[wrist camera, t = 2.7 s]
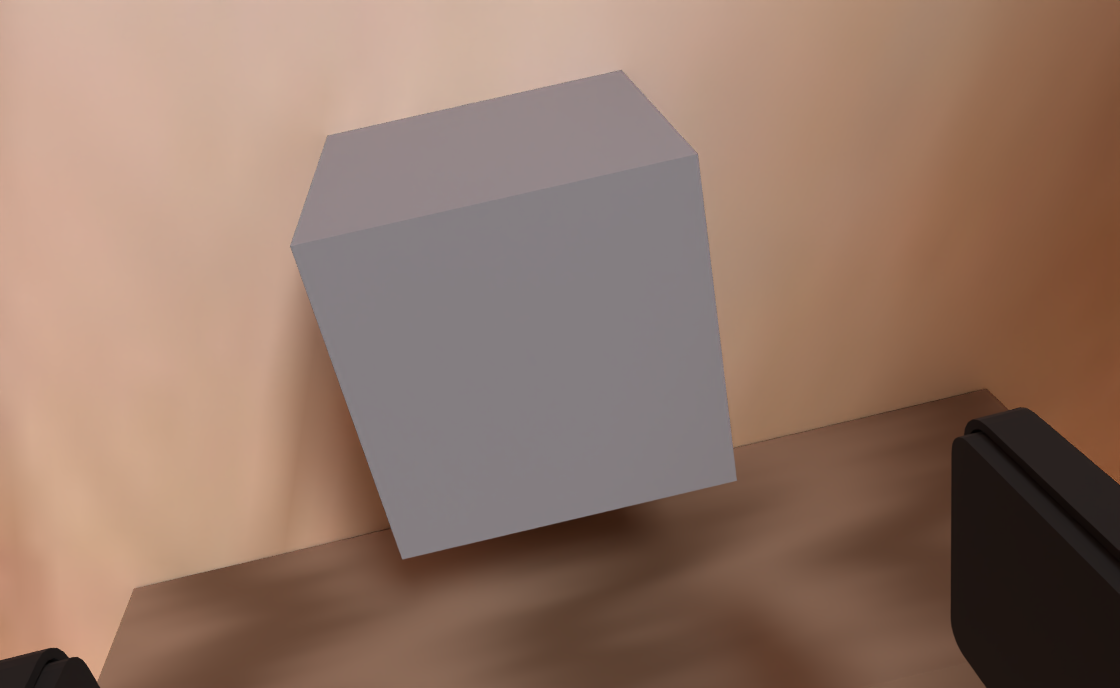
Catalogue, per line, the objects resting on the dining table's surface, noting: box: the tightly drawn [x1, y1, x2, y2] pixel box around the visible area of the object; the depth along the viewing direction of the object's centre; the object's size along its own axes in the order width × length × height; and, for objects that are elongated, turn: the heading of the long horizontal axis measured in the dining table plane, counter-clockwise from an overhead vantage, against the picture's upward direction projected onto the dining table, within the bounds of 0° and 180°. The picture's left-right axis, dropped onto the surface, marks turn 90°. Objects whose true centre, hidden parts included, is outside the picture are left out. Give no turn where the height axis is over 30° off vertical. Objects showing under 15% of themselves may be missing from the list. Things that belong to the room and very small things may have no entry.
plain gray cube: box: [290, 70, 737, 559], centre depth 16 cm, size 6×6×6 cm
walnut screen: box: [97, 389, 1008, 688], centre depth 19 cm, size 20×2×7 cm, turn 101°
